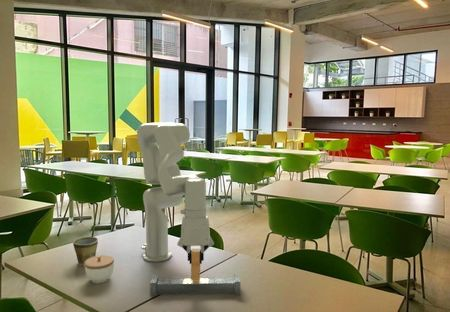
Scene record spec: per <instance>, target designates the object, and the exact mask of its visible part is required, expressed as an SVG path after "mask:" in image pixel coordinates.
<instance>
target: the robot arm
mask: <svg viewBox="0 0 450 312" xmlns="http://www.w3.org/2000/svg"><path fill="white" fill-rule="evenodd" d="M190 135H191V133H190V130H189V128H188V126H187V125H186V124H184V123H179V122H148V123H143V124H140V125H139V126H138V127H137V130H136V138H137V143H138V147H139V149H140V151H141V154H142V165H143V174H144V180H145V183H147V184H148V185H160V186H158V187H157V186H156V187H151V188H148V189H147V190H144V192H143V195H142V200H143V206H144V213H145V214H144V215H145V234H146V235H145V238H146V239H145V240H146V243H144V242H143V245H142V246H141V250H144V253H143V256H142V257H143V260H145V261H147V262H152V263H155V262H156V263H158V262H163V261H168V260H169V259H171V257H172V251H170V250H169V237H168V236H169V235H168V234H169V233H168V232H169V229H168V223H169V222H168V221H169V220H168V217H167V214H166V213H165V212H164V211H163V209H167V208H168V209H169V208H173V207H178V206H181V204H182V202H183V199H184V208H183V209H180V214H182V215H183V216H182V219H181V225H180V226H181V228H180V229H181V230H180V238H179V240H178V241H177V246H178V247H180V248H182V249H183V250H184V251H185V252H186V253H187V261H188V262H189V265H191V263H192V254H191V251H192V247H193V246H194V247H197V246H198V247H200V248H199V249H200V265H201V264H203V261H204V260H205V259H204V258H205V257H204V256H205V254H204V253H205V252H206V251H207V250H208V249H209V248H210V247H212V246H214V245H215V242H214V240H213V238H212V237H211V235H210V234H211V232H210V221H209V216H208V215H207V183H206V180H205V179H204V178H202V177H199V176H198V175H197V174H195V173H194V174H193V173H192V174H191V173H189V174H181V170H180V166H179V164H177V163H179V162H180V161H181V160H182V159H183V158H184V155H185V152H184V149H183V146H182V145H181V144H187V143H188V142H189V140H190V137H191V136H190ZM183 196H184V198H183Z"/></svg>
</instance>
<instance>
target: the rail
mask: <svg viewBox="0 0 450 312" xmlns="http://www.w3.org/2000/svg"><path fill="white" fill-rule="evenodd" d="M149 287H150V288H149V289H150V297H157V296H159V295H161V296H165V295H166V296H167V295H170V296H171V295H219V294H221V295H222V294H223V295H224V294H225V295H229V294H232V295H233V294H234V295H235V296H240V295H241V276H240V274H239V273H234V274H233V277H222V278H221V277H220V278H219V277H213V278H212V277H209V278H208V277H205V278H204V277H202V278H201V277H200V280H192V281H191V277H189V278H159V275H158V274H157V275H155V274H153V275H152V277H151V280H150V284H149Z"/></svg>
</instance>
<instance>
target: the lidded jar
mask: <svg viewBox="0 0 450 312" xmlns="http://www.w3.org/2000/svg"><path fill="white" fill-rule="evenodd" d="M84 264H85V266H84V271H85V275H86V277H87V279H89V280H90V281H91V282H92V283H93V284H101V283H103V284H104V283H105V282H108V280H109V278H110V277H111V276H112V274H113V272H114V257H112V256H110V255H96V256H95V257H91V258H89V259H87V260H86V261H85V263H84Z"/></svg>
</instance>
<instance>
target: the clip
mask: <svg viewBox="0 0 450 312" xmlns="http://www.w3.org/2000/svg"><path fill="white" fill-rule="evenodd" d="M200 249H201V248H191V254H192V263H191V264H190V278H191V281H192V280H200V278H201V273H200V272H201V264H200Z"/></svg>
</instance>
